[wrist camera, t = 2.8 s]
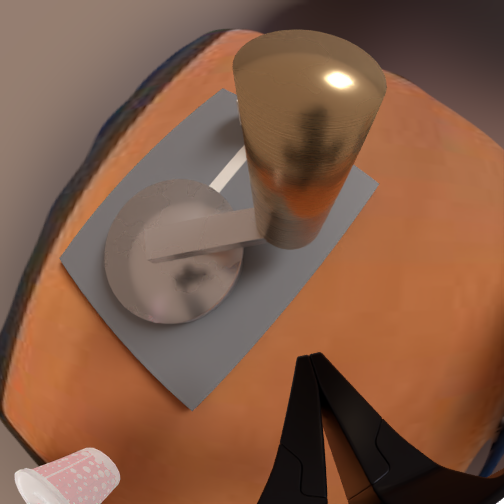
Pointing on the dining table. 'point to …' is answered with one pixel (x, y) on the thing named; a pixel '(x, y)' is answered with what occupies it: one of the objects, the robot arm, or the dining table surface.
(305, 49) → the wall lamp
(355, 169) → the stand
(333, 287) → the dining table surface
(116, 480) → the beverage cup
